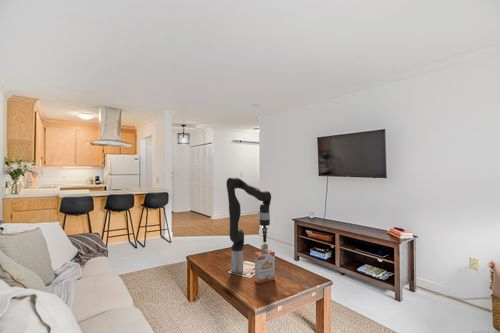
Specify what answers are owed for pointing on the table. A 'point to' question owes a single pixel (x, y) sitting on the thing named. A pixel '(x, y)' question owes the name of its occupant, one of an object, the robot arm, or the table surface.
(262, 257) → the cracker box
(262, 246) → the metal block
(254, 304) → the table surface
